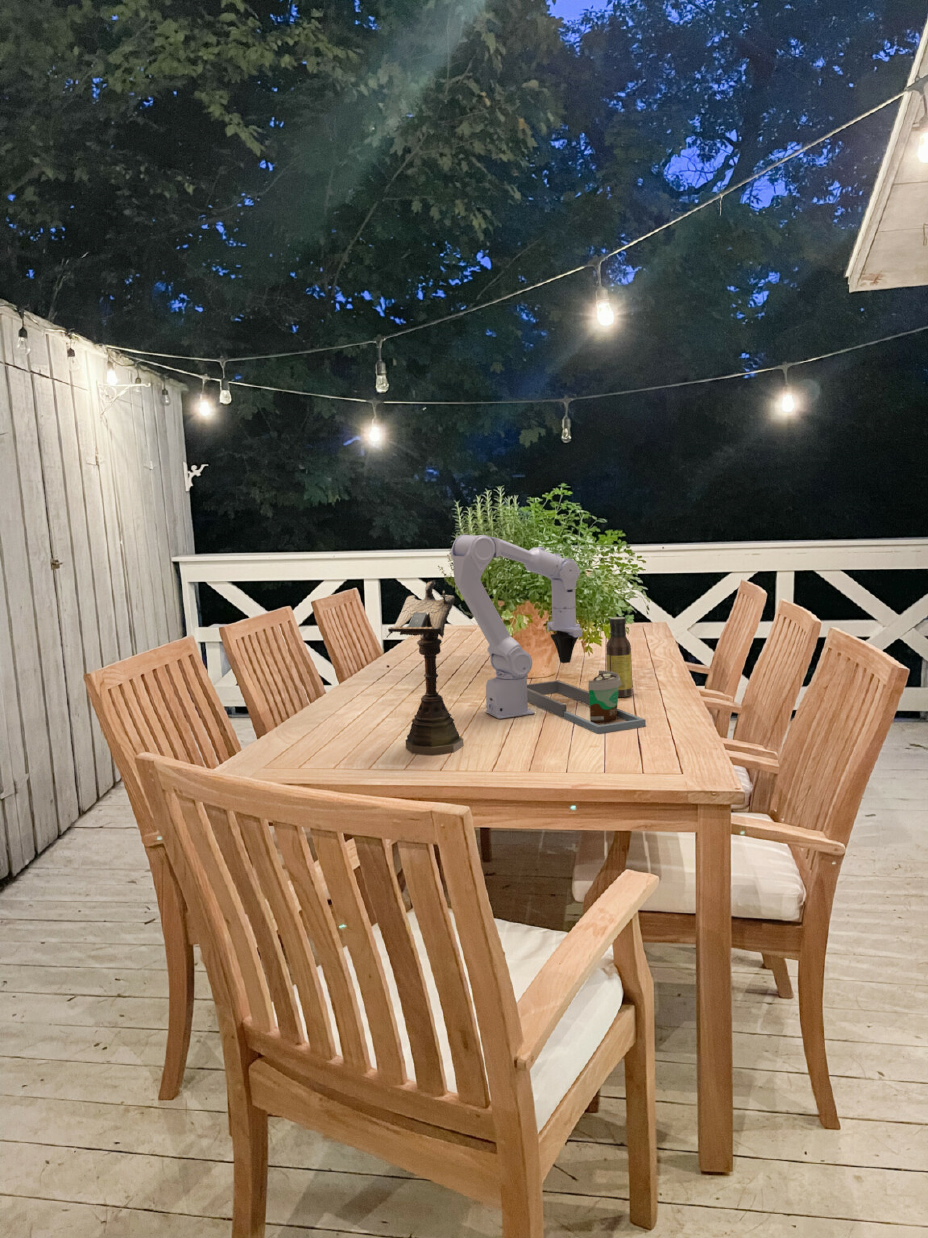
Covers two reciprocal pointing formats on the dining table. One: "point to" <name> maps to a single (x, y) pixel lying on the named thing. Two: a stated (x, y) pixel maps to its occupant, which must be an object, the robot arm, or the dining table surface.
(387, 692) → the dining table surface
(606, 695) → the food container
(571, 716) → the frame
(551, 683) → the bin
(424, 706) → the book lectern
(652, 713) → the dining table surface
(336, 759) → the dining table surface
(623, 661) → the sauce bottle
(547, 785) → the dining table surface
